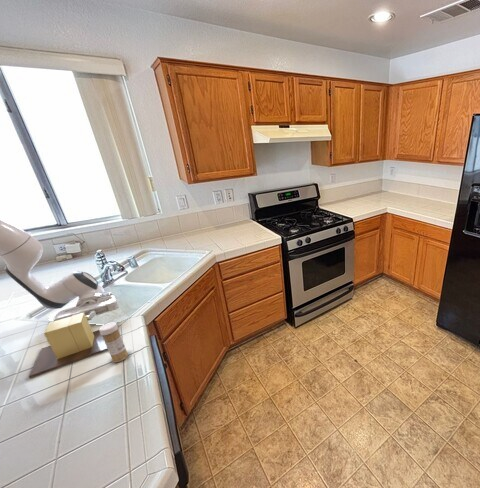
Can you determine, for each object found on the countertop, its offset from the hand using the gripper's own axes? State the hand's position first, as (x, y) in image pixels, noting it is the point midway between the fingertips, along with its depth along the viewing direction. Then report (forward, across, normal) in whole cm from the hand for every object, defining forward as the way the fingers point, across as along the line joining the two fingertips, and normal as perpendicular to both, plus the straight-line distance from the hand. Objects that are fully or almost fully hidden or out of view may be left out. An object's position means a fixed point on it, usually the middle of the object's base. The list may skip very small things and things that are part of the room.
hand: (86, 319), depth 104 cm
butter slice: (+10, 0, +5) cm, 11 cm away
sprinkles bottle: (+26, +10, +6) cm, 29 cm away
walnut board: (+10, -3, +6) cm, 12 cm away
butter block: (+10, -5, +5) cm, 12 cm away
